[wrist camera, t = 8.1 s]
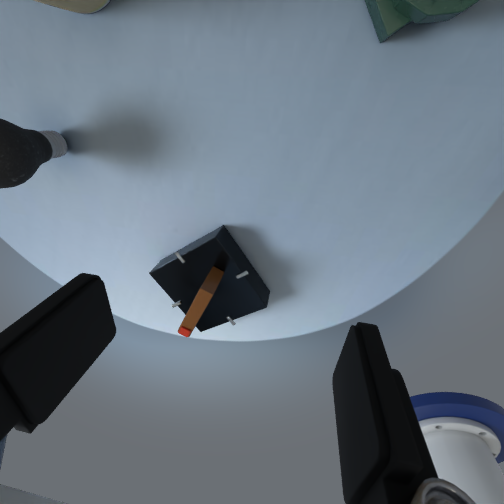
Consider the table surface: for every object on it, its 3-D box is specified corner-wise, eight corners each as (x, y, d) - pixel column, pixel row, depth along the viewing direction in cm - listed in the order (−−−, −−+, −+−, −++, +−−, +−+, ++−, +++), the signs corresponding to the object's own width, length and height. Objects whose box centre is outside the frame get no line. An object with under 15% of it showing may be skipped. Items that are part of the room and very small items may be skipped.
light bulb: (40, 160, 29) (-73, 182, 20) (33, 104, 26) (-102, 102, 17) (88, 177, 29) (-5, 207, 20) (86, 123, 26) (-23, 131, 17)
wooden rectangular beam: (213, 265, 28) (199, 289, 24) (224, 271, 28) (212, 296, 24) (191, 306, 31) (176, 333, 28) (201, 312, 31) (187, 339, 28)
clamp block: (277, 293, 32) (274, 310, 29) (207, 320, 36) (199, 337, 33) (224, 217, 28) (216, 229, 25) (154, 258, 33) (141, 272, 30)
